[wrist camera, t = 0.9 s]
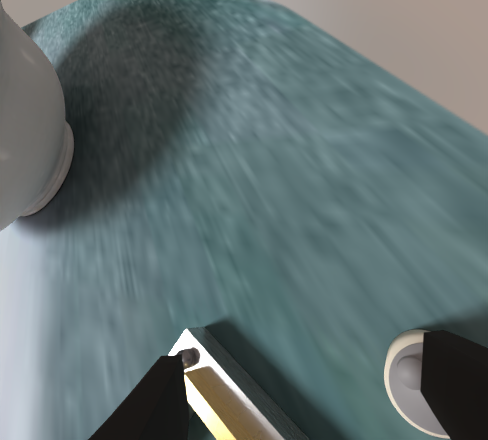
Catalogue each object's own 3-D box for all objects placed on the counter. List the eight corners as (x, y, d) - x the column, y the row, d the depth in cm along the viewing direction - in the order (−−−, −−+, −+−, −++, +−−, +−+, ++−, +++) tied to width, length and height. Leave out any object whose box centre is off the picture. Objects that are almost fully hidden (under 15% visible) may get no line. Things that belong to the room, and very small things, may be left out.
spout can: (479, 362, 17) (524, 392, 11) (438, 418, 17) (460, 477, 11) (410, 315, 19) (417, 320, 13) (374, 366, 19) (364, 393, 13)
